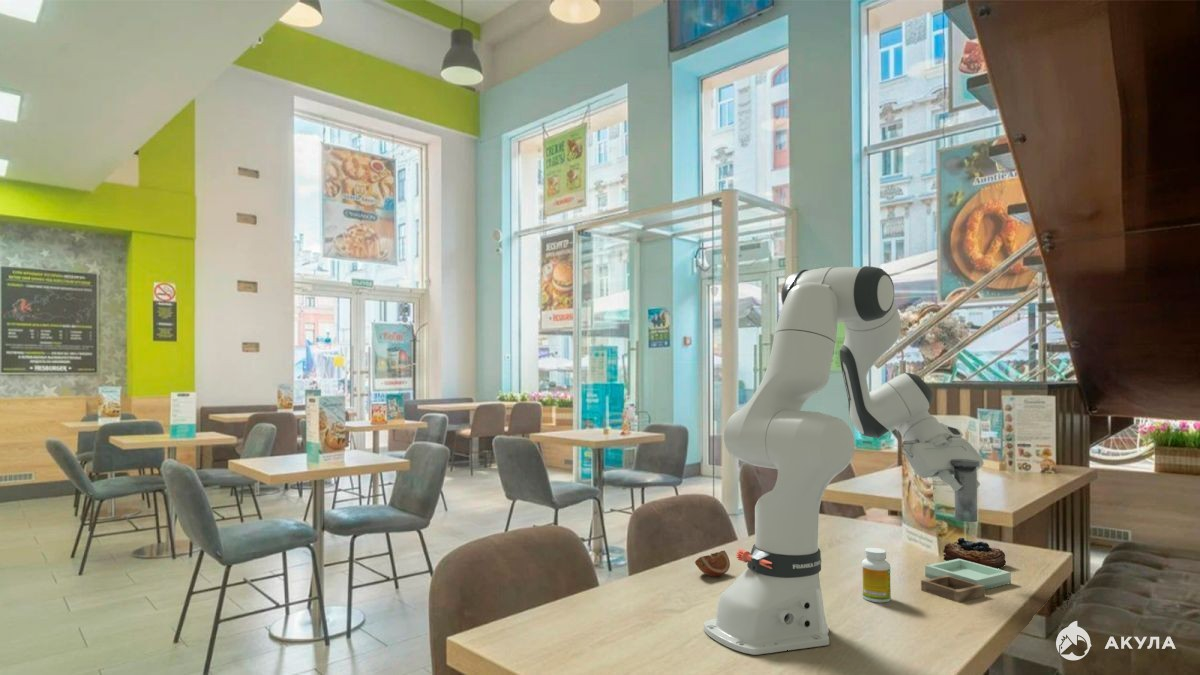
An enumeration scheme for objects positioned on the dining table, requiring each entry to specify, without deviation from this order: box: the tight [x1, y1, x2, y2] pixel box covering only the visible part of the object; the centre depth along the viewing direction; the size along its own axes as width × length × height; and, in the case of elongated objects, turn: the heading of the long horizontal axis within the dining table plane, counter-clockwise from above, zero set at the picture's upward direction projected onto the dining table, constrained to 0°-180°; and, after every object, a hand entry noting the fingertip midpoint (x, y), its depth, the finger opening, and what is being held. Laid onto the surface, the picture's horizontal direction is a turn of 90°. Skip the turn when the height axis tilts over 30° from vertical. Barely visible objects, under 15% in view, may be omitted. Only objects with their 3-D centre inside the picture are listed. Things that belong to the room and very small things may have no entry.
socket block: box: [920, 575, 985, 603], centre depth 142 cm, size 8×8×2 cm
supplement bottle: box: [861, 547, 891, 603], centre depth 138 cm, size 5×5×10 cm
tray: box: [924, 559, 1012, 591], centre depth 151 cm, size 12×12×2 cm
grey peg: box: [951, 459, 980, 523], centre depth 151 cm, size 6×6×13 cm
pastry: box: [942, 537, 1007, 569], centre depth 163 cm, size 11×12×6 cm
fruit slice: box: [694, 550, 731, 578], centre depth 153 cm, size 8×7×5 cm
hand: (968, 488), depth 151 cm, fingers closed on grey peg, 4 cm apart
